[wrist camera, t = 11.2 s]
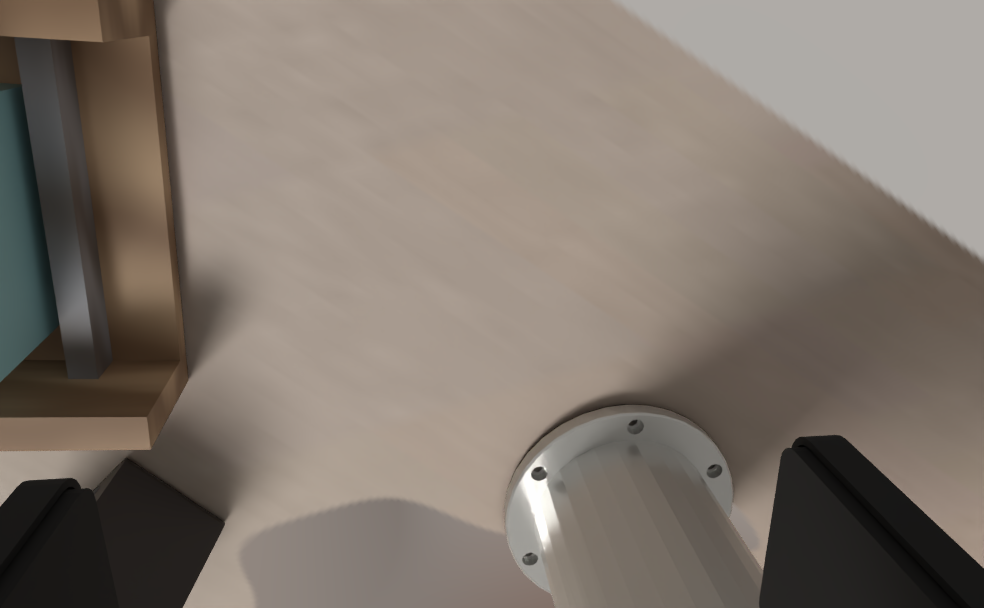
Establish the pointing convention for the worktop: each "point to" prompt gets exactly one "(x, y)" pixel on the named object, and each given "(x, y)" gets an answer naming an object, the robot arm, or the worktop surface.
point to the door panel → (21, 241)
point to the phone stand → (152, 538)
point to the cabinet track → (96, 228)
